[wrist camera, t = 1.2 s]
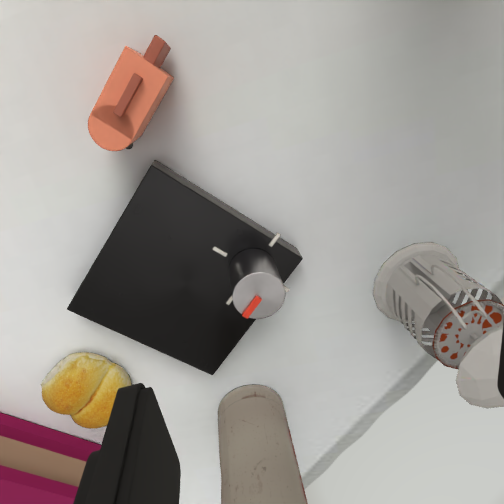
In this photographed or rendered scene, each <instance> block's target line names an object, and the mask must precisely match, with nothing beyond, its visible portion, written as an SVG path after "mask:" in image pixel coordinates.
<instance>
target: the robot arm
mask: <svg viewBox="0 0 504 504" xmlns="http://www.w3.org/2000/svg"><path fill="white" fill-rule="evenodd" d="M497 387H498V390H499V393H500V394H501V396H502V397H503V399H504V323H503V332H502V342H501V352H500V361H499V371H498V381H497ZM180 476H181V472H180V463H179V459H178V456H177V453H176V451H175V448H174V445H173V443H172V440H171V437H170V434H169V432H168V429H167V426H166V424H165V421H164V418H163V416H162V413H161V410H160V407H159V405H158V402H157V399H156V397H155V394H154V391H153V389H152V388H151V387H148V388H145V386H144V385H143V384H142V383H139V384H135V385H130V386H126V387H121V388H119V389H118V391H117V393H116V397H115V400H114V404H113V407H112V411H111V414H110V418H109V421H108V424H107V428H106V431H105V435H104V438H103V442H102V445H101V449H100V450H97V451H93V452H92V453H91V454H90V455H89V457H88V459H87V462H86V465H85V468H84V471H83V474H82V477H81V480H80V484H79V487H78V490H77V493H76V496H75V499H74V503H73V504H179V493H180Z"/></svg>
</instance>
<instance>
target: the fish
mask: <svg viewBox="0 0 504 504" xmlns="http://www.w3.org/2000/svg"><path fill="white" fill-rule="evenodd" d="M170 49H171V48H170V47H169V46H168V44H167V43H166V42H165V41H164V40H162V39H161V38H160V37H158V36H157V35H155V36H154V38H153V40H152V41H151V43H150V45H149V47H148V49H147V51H146V53H145V55H144V56H143V55H141V54H140V53H138V52H137V51H135V50H133V49H131V48H129V47H127V46H125V48H124V50H123V52H122V54H121V56H120V58H119V60H118V62H117V63H116V65H115V67H114V69H113V71H112V73H111V75H110V77H109V79H108V81H107V83H106V85H105V87H104V89H103V91H102V93H101V95H100V97H99V98H98V100H97V102H96V104H95V106H94V108H93V110H92V112H91V114H90V116H89V120H88V130H89V133H90V135H91V137H92V139H93V140H94V141H95V143H96V144H98V145H99V146H100V147H102V148H104V149H106V150H109V151H119V150H123V149H125V148H126V149H131V148H132V147H133V142H134V141H136V140H137V139H138V138H139V137H140V136H141V135H142V134H143V132H144V131H145V129H146V127H147V125H148V123H149V122H150V120H151V118H152V116H153V115H154V113H155V111H156V109H157V107H158V106H159V104H160V102H161V100H162V99H163V97H164V95H165V93H166V92H167V90H168V88H169V86H170V84H171V83H172V81H173V79H174V77H172V76H171V75H170V74H168V73H167V72H165V71H164V70H163V69H161V68H160V67H161V65H162V64H163V62H164V60H165V58H166V56H167V55H168V53H169V51H170Z"/></svg>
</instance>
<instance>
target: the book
mask: <svg viewBox="0 0 504 504" xmlns="http://www.w3.org/2000/svg"><path fill="white" fill-rule="evenodd" d="M100 449H101V445H99V444H96V443H93V442H90V441H87V440H84V439H81V438H78V437H74V436H71V435H68V434H65V433H62V432H59V431H56V430H53V429H50V428H47V427H43V426H40V425H37V424H34V423H31V422H28V421H25V420H22V419H19V418H16V417H12V416H9V415H6V414H3V413H0V504H73V503H74V499H75V496H76V493H77V490H78V487H79V484H80V480H81V477H82V474H83V471H84V468H85V465H86V462H87V459H88V457H89V455H90V454H91V453H92V452H93V451H97V450H100Z"/></svg>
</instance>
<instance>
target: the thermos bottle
mask: <svg viewBox="0 0 504 504" xmlns="http://www.w3.org/2000/svg"><path fill="white" fill-rule="evenodd" d="M218 431H219V454H220V467H221V504H308V503H307V499H306V495H305V491H304V487H303V483H302V479H301V475H300V471H299V467H298V463H297V459H296V455H295V451H294V447H293V443H292V439H291V435H290V431H289V427H288V423H287V418H286V414H285V410H284V406H283V402H282V399H281V398H280V396H279V395H278V394H277V393H276V392H275V391H274V390H273V389H271V388H269V387H266V386H262V385H245V386H241V387H239V388H236V389H234V390H232V391H231V392H229V393H228V394H227V395H226V396H225V397H224V398H223V399H222V401H221V403H220V405H219V408H218Z"/></svg>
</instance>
